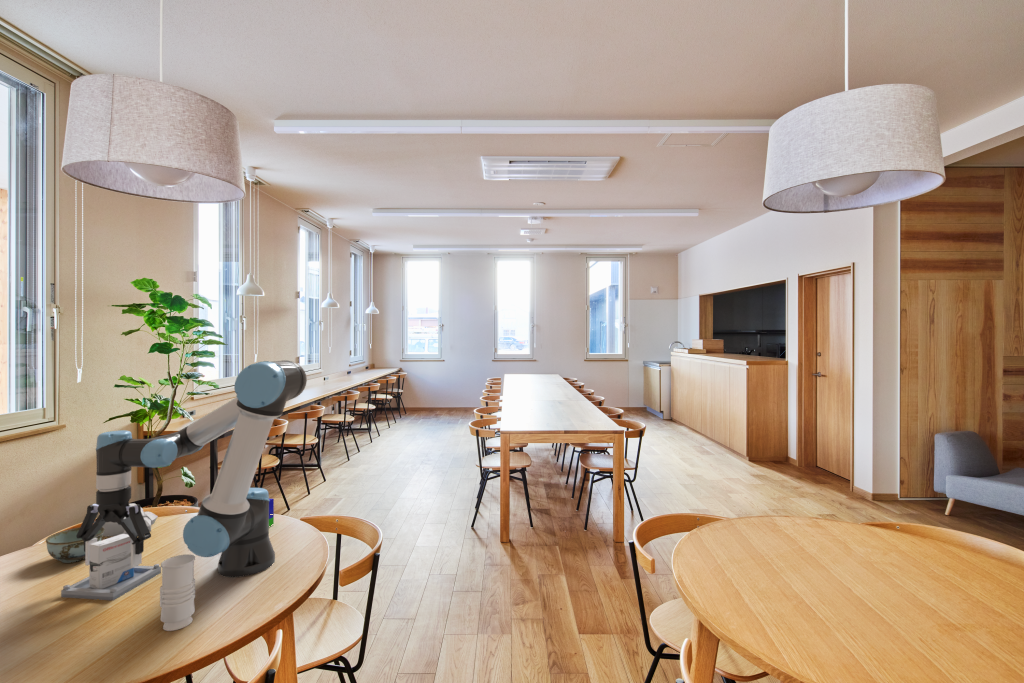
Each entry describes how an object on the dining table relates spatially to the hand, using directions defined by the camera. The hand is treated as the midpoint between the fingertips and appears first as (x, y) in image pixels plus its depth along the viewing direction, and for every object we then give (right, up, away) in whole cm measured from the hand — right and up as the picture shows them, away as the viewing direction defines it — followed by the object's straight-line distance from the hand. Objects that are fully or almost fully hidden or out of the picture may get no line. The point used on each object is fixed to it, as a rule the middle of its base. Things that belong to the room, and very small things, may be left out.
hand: (113, 564), depth 133 cm
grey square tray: (0, -6, 0) cm, 6 cm away
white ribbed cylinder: (+30, -6, -18) cm, 36 cm away
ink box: (0, -5, 0) cm, 5 cm away
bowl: (-25, -6, +15) cm, 30 cm away
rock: (-27, -6, +38) cm, 47 cm away
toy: (+17, -6, +40) cm, 43 cm away
